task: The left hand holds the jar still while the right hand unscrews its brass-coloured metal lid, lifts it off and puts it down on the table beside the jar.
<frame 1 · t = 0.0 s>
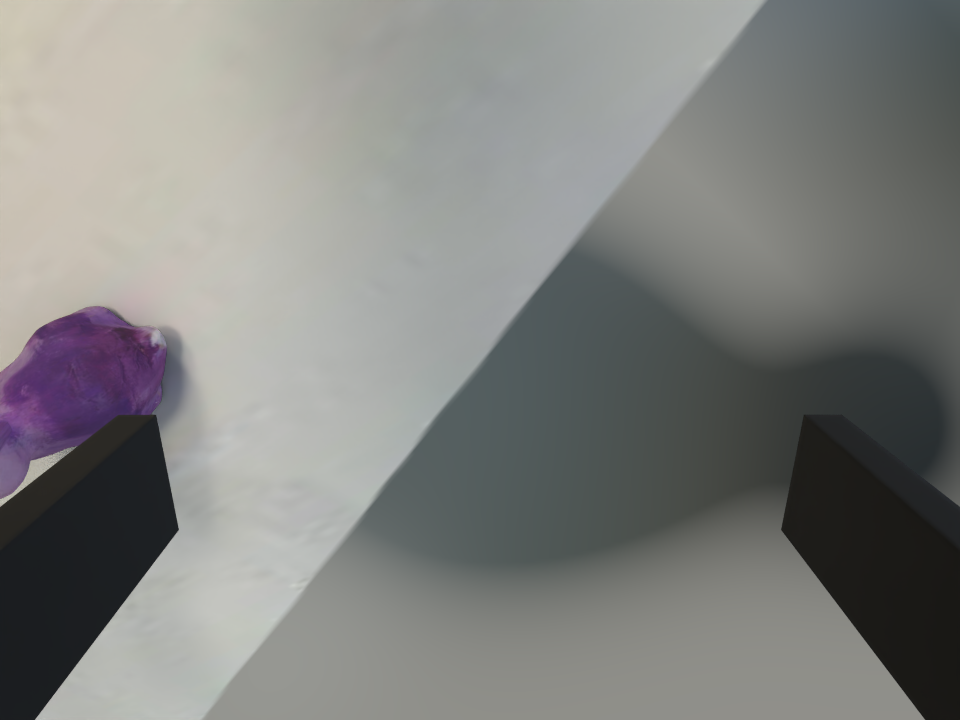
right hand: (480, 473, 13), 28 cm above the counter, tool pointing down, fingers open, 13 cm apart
figurine: (106, 374, 42), on the counter
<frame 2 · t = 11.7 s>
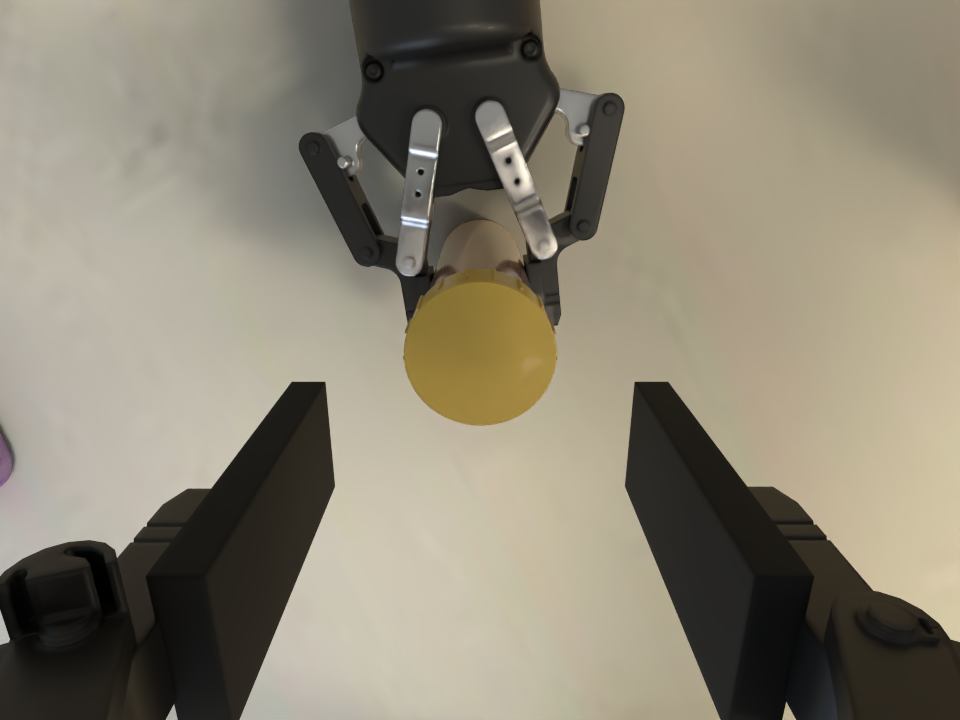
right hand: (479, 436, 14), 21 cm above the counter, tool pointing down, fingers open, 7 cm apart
left hand: (487, 339, 30), fingers closed on jar, 4 cm apart
lid: (480, 353, 20), point 16 cm above the counter, screwed on, not yet turned
jar: (480, 258, 35), on the counter, touching left hand
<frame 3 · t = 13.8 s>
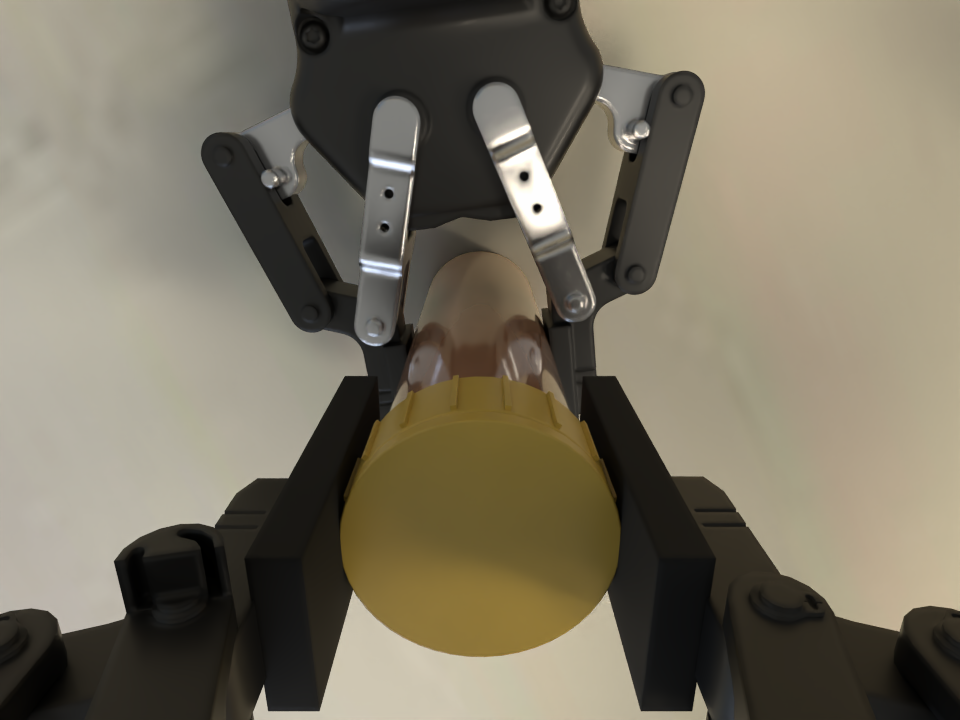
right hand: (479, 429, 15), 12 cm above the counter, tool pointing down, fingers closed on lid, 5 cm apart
left hand: (491, 428, 21), fingers closed on jar, 4 cm apart
lid: (480, 535, 11), point 16 cm above the counter, screwed on, not yet turned, touching right hand
jar: (480, 303, 26), on the counter, touching left hand
when the right hand's fingers open (12 cm above the counter, at t = 15.0 s): lid stays where it is, point 16 cm above the counter.
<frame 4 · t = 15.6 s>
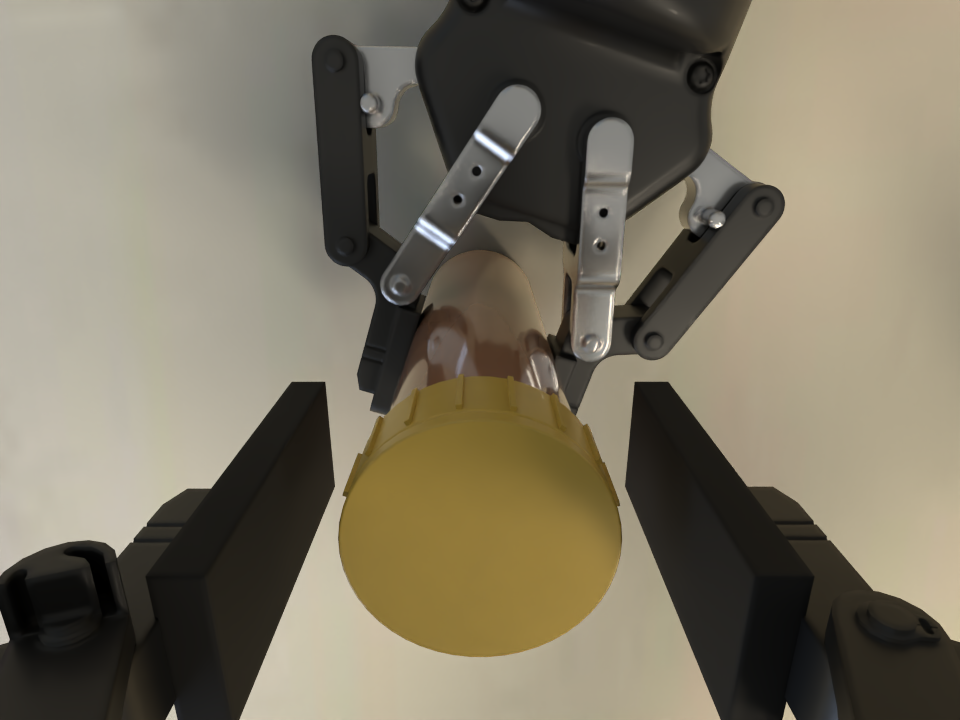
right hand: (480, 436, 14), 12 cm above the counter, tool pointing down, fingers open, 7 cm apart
left hand: (456, 422, 21), fingers closed on jar, 4 cm apart
lid: (480, 535, 11), point 16 cm above the counter, turned 86° so far, risen 0.2 cm, still on its thread
jar: (480, 301, 26), on the counter, touching left hand
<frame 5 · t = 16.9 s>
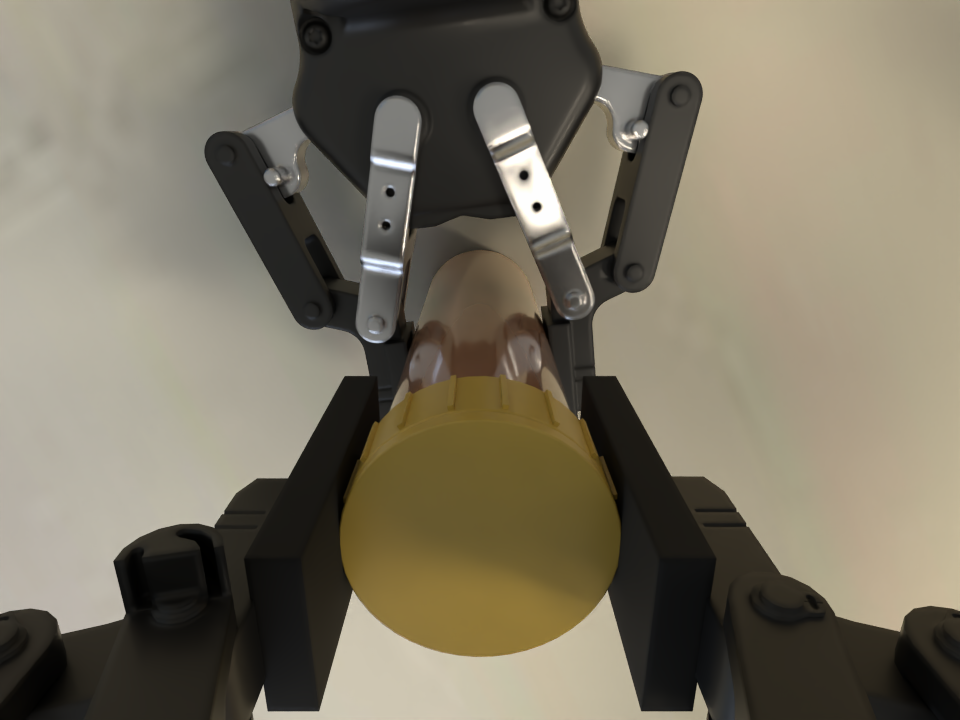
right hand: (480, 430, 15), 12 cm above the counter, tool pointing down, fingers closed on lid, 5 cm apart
left hand: (490, 425, 21), fingers closed on jar, 4 cm apart
lid: (480, 535, 11), point 16 cm above the counter, turned 86° so far, risen 0.2 cm, still on its thread, touching right hand
jar: (480, 301, 26), on the counter, touching left hand
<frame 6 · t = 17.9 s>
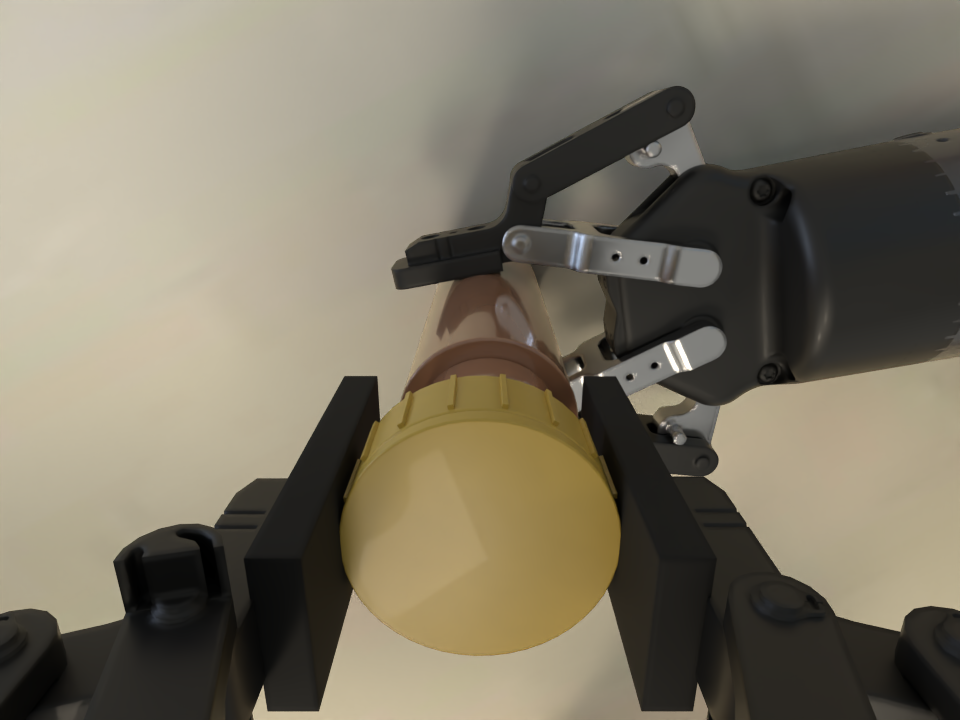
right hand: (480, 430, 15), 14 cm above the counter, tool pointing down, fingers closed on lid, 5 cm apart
left hand: (414, 341, 22), fingers closed on jar, 4 cm apart
lid: (480, 534, 11), point 18 cm above the counter, off its thread, touching right hand
jar: (488, 287, 28), on the counter, touching right hand, left hand
when the right hand's fingers open (0 cm above the counter, at t = 22.6 s): lid drops 2 cm, point 2 cm above the counter.
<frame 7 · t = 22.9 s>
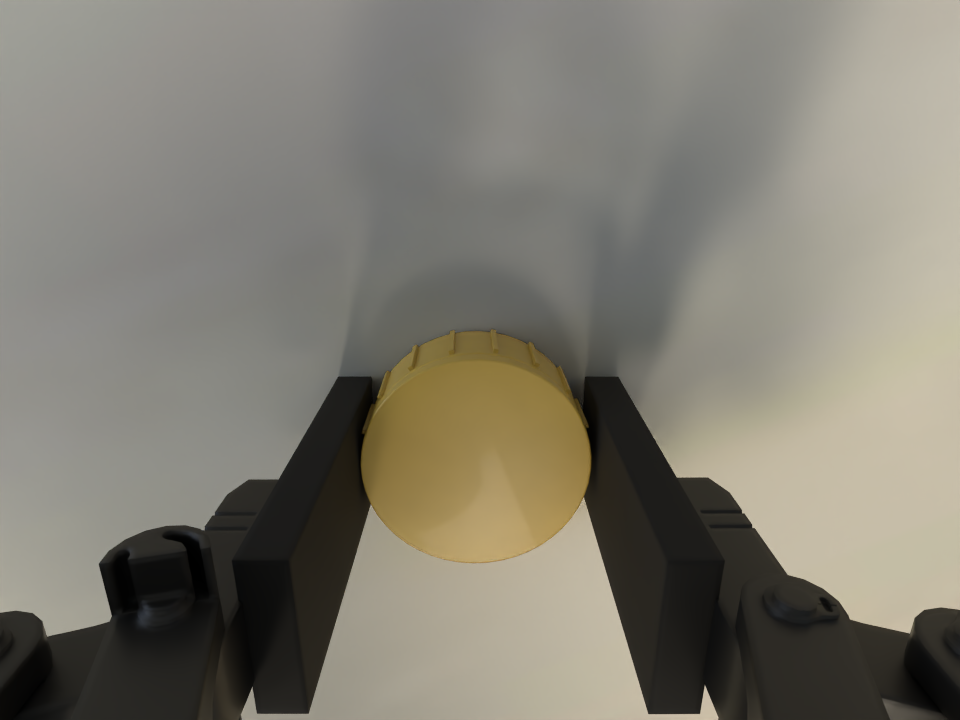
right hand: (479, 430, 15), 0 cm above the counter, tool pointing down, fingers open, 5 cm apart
lid: (476, 459, 13), point 2 cm above the counter, off its thread
when the left hand's fingers open (6 cm above the counter, at t = 23.5 s): jar stays where it is, on the counter.
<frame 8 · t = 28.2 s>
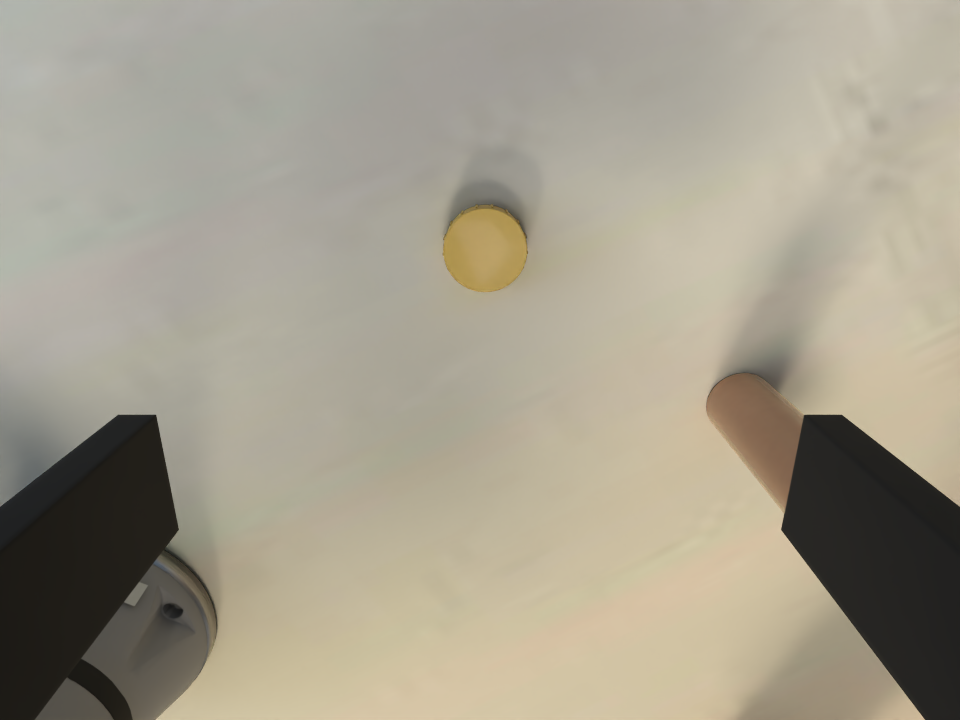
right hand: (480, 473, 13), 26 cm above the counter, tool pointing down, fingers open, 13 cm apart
lid: (485, 250, 36), point 2 cm above the counter, off its thread
jar: (739, 403, 41), on the counter
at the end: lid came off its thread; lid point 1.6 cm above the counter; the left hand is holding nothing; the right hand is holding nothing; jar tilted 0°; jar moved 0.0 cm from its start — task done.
